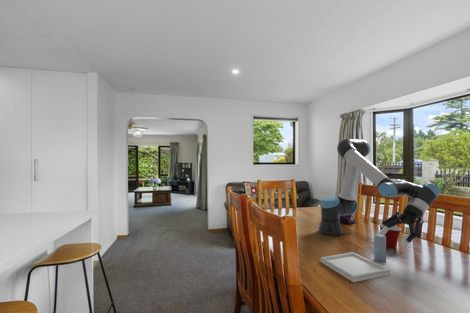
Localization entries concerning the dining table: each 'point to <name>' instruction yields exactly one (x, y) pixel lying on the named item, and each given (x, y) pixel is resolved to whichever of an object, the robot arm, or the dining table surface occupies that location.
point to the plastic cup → (391, 236)
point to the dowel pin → (380, 248)
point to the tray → (355, 266)
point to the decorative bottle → (347, 218)
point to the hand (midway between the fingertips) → (390, 241)
